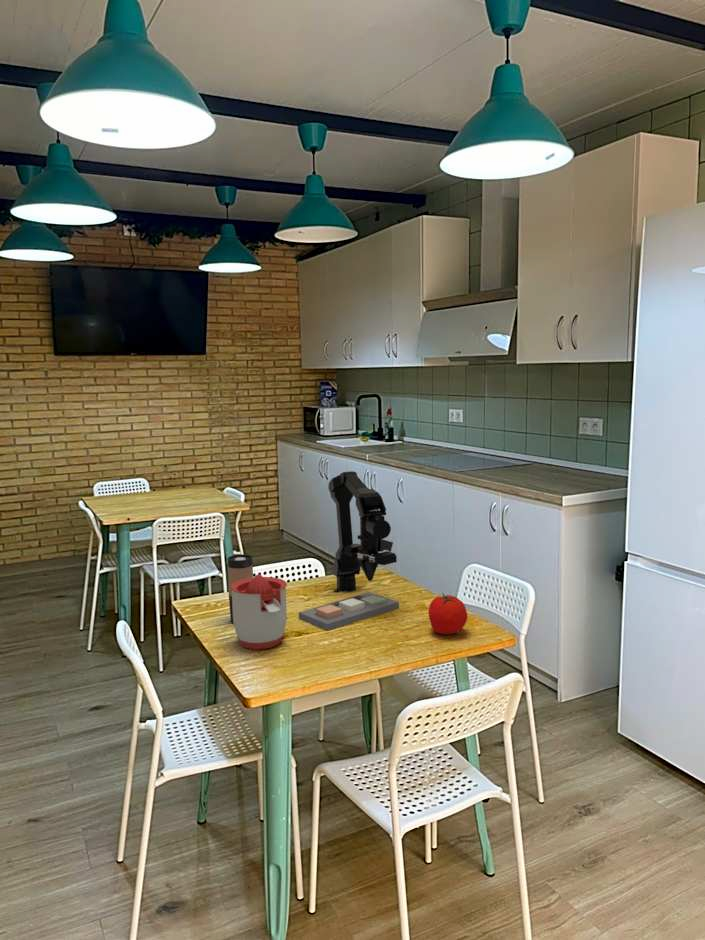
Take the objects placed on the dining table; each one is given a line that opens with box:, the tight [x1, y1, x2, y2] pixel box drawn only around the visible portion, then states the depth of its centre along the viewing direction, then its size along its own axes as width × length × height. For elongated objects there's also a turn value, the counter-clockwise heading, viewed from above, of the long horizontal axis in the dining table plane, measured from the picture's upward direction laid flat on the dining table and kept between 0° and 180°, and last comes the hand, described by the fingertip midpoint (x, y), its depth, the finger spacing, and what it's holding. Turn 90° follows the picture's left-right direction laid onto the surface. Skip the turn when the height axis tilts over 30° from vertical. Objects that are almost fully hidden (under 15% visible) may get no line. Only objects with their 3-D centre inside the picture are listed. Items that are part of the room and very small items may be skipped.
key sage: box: [361, 595, 386, 606], centre depth 225 cm, size 6×6×2 cm
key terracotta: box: [316, 605, 342, 620], centre depth 213 cm, size 6×6×2 cm
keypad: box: [298, 591, 400, 632], centre depth 220 cm, size 14×29×3 cm, turn 131°
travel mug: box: [227, 553, 254, 625], centre depth 217 cm, size 8×8×20 cm
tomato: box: [428, 592, 468, 635], centre depth 205 cm, size 12×12×11 cm
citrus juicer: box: [231, 573, 288, 651], centre depth 198 cm, size 16×17×20 cm
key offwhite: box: [339, 598, 364, 613], centre depth 219 cm, size 6×6×2 cm
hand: (370, 580), depth 223 cm, fingers closed
